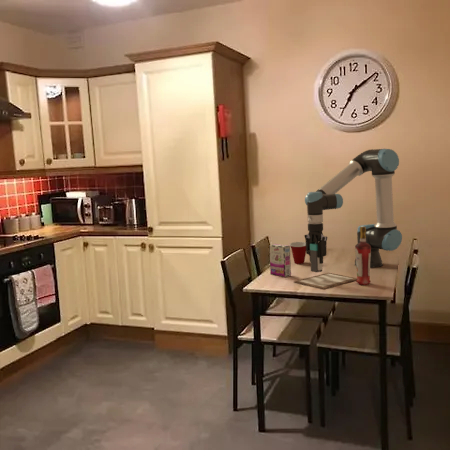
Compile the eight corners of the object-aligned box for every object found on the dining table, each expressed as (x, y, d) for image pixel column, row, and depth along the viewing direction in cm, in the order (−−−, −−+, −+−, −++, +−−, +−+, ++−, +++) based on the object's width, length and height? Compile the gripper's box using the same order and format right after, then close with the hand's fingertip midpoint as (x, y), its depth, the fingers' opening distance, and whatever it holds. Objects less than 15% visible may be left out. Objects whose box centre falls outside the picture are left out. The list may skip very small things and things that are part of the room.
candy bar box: (291, 275, 274) (290, 245, 272) (285, 277, 271) (284, 246, 269) (276, 272, 282) (275, 243, 280) (270, 274, 279) (268, 244, 277)
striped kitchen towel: (328, 273, 274) (328, 272, 274) (358, 279, 258) (358, 278, 258) (293, 282, 259) (293, 281, 259) (323, 289, 243) (323, 288, 243)
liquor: (353, 282, 253) (352, 226, 249) (368, 281, 253) (367, 225, 250) (358, 286, 246) (357, 228, 242) (373, 285, 246) (372, 227, 242)
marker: (316, 269, 261) (315, 242, 259) (322, 271, 258) (321, 243, 256) (310, 271, 258) (309, 244, 257) (316, 272, 255) (316, 244, 253)
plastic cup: (288, 265, 301) (288, 244, 299) (291, 261, 311) (290, 241, 309) (307, 265, 298) (306, 244, 296) (309, 261, 308) (309, 241, 306)
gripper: (297, 222, 259) (299, 267, 262) (323, 225, 246) (324, 272, 249) (308, 220, 264) (309, 265, 267) (333, 223, 250) (334, 270, 253)
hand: (316, 268), depth 258 cm, fingers closed on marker, 4 cm apart
